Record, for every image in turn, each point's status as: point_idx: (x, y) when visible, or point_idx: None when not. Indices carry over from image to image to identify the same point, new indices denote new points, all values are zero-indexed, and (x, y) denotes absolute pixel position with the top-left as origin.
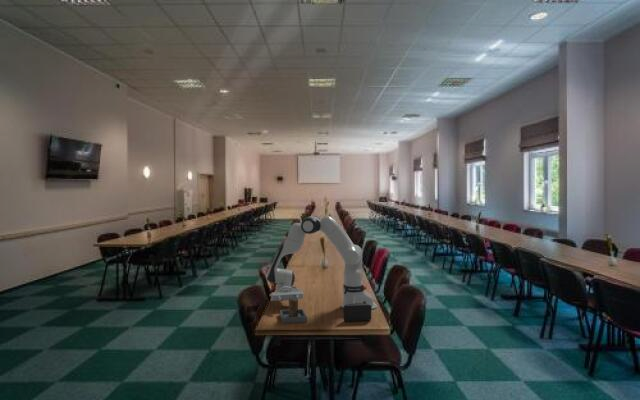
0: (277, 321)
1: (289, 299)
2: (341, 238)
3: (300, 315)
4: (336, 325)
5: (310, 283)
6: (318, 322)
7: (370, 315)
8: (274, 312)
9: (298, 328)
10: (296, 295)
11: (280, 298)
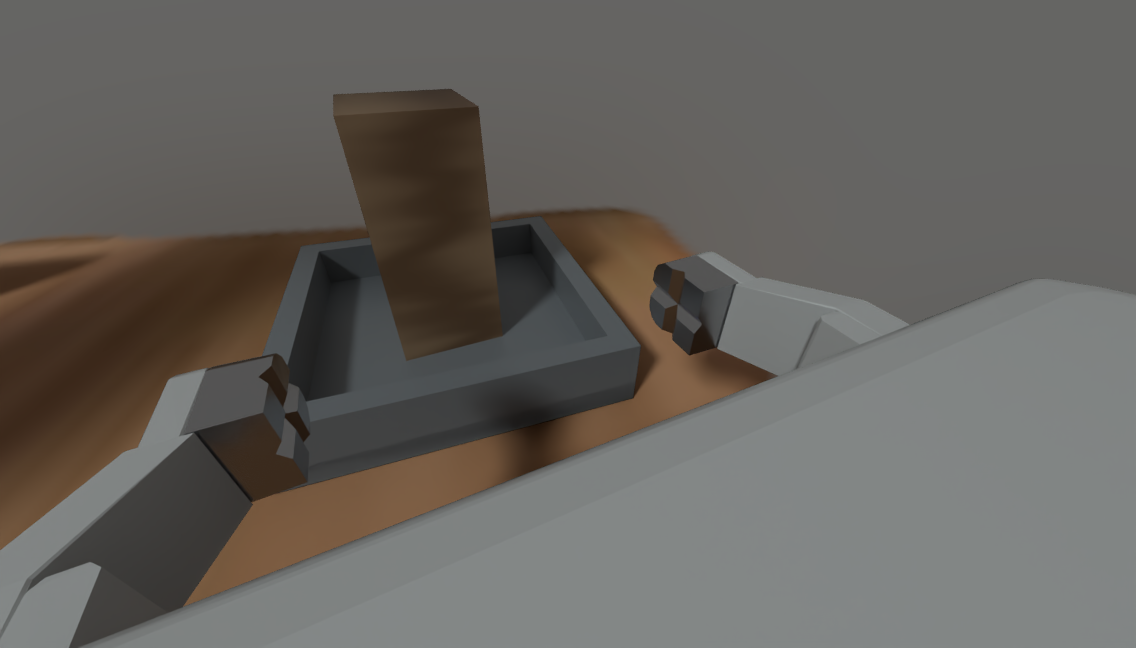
0: (593, 279)
1: (466, 99)
2: None
3: (351, 357)
4: (74, 270)
5: None
6: (206, 296)
7: None
8: None
9: None
10: (98, 592)
11: (718, 257)
